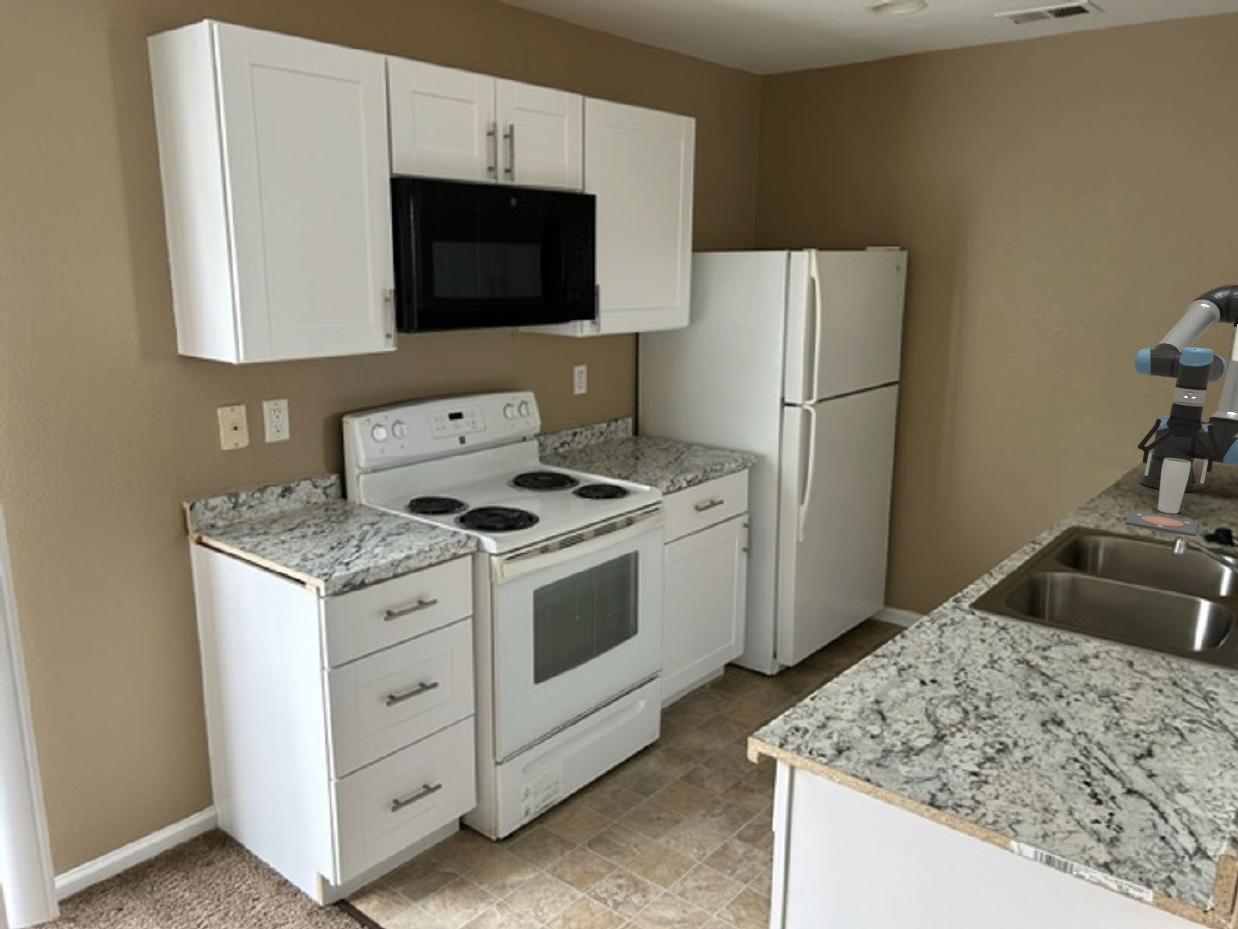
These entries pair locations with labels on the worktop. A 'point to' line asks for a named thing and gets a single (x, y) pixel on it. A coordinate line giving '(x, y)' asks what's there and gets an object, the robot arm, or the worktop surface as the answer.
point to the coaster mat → (1162, 523)
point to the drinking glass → (1173, 484)
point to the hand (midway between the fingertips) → (1173, 478)
